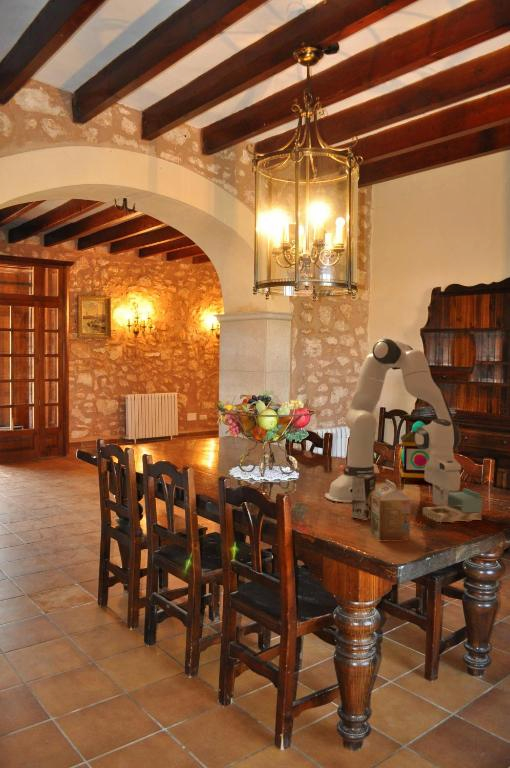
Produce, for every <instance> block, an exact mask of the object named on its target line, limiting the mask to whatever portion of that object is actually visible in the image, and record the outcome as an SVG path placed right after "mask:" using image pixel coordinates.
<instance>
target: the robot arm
mask: <svg viewBox="0 0 510 768" xmlns="http://www.w3.org/2000/svg"><path fill="white" fill-rule="evenodd" d="M390 369H392V370H394V371H395V370H400V371H401V374H402V379H403V385H404V388H405V390H406V392H407V393H408V394H409V395H410V396H412V397H413V398H416V399H419V400H421V401H424V402H426V403H428V404H430V406H432V407H433V409H434V412H435V414H436V416H437V418H436V419H435V418H434V419H433V420H431V422H430V423H428V424H425V425H426V426H422V427H419V428H418V429H417V430H416V432H415V435H414V441H415V444H416V446H417V447H418V448H419V449H421V450H430V459H429V460H428V461H427V464H426V466H425V474H424V478H425V479H424V481H425V482H427V483H430V484H432V489H433V488H438V487H442V488H443V491H444V493H443V495H442V499H444V500H447V499H448V494H449V493H451V492H459V490H460V488H461V473H460V471H461V470H462V465H461V463H460V462H458V461H457V460H456V459H455V458H454V457H455V455H454V454H455V453H454V450H456V449H457V447H458V446H459V445H460V443H461V439H462V435H461V432H460V430H459V428H458V427H457V425H456V422H455V420H454V417H453V415H452V413H451V412H452V411H451V410H450V407H449V404H448V402H447V399H446V397H445V395H444V392H443V390H442V389H441V388H440V387H439V386H438V385H436V383H435V382H434V380H433V377H432V375H431V369H430V366H429V362H428V360H427V358H426V355H425V354H424V352H423V351H421V350H420V349H413V347H411V346H410V345H408V344H407V343H404V342H401V341H399V340H394V339H392V338H391V339H390V338H382V339H379V340H377V341H376V342H375V343H374V345H373V347H372V353H369V354H367V355H366V357H364V360H363V363H362V365H361V368H360V372H359V374H358V375H359V376H358V378H357V383H356V386H355V391H354V394H353V397H352V400H351V402H350V404H349V406H348V407H349V408H348V410H347V413H346V416H345V425H346V426H347V428H348V429H349V437H348V438H349V439H348V445H347V458H346V459H347V464H346V465H345V466H344V465H342V464H341V465H340V466H339V467H338V468H339V469H340V470H341V471H342V472H343V473H342V474H340V475H339V476H338V477H337V478H336V479H335V480H333V481H332V482H331V483H330V487H329V492H327V493H324V495H325V497H326V498H328V499H330V500H333V501H340V502H343V503H352V483H353V477H355V476H357V475H360V474H369V475H375V467H374V445H375V440H376V430H377V425H378V422H377V418H376V417H375V415H374V412H375V409H376V407H377V405H378V403H379V401H380V399H381V395H382V391H383V389H384V388H383V387H384V384H385V379H386V375H387V372H388V371H389V370H390ZM325 497H324V498H325ZM326 498H325V499H326Z"/></svg>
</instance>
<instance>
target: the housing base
mask: <svg viewBox="0 0 510 768" xmlns="http://www.w3.org/2000/svg"><path fill="white" fill-rule="evenodd" d="M482 514H483V513H482V512H468V513H462V512H461V505H452V506H447V505H442V506H423V507H422V515H423V516H424V515H425V516H424V517H426V516H427V517H426V518H428V517H429V518H428V519H430V518H431V519H433V520H435V521H437V522H440V523H439V524H442V523H441V522H451V523H456V522H455V521H466V522H473V521H472V520H481V521H482V516H483V515H482ZM431 519H430V520H431ZM433 520H432V521H433ZM435 521H434V522H435ZM437 522H436V523H437Z"/></svg>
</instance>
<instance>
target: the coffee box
mask: <svg viewBox="0 0 510 768" xmlns="http://www.w3.org/2000/svg"><path fill="white" fill-rule="evenodd" d="M376 478H377V477H376V474H374V475H369V474H360V475H357V476H355V477H353V483H352V502H351V518H352V517H354V518H360V519H366V520H367V519H369V518H370V519H371V493H372V492H373V491H374V490H375V489H376V485H377V484H376V483H377V481H376ZM370 519H369V520H370ZM367 521H368V520H367Z"/></svg>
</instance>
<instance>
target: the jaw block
mask: <svg viewBox="0 0 510 768" xmlns="http://www.w3.org/2000/svg"><path fill="white" fill-rule="evenodd" d="M443 493H444V491H443V488H442V487H438V488H433V487H432V504H434V505H435V506H436V507H438V506H447V505H448V499H447V500H444V499H442V495H443Z"/></svg>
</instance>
